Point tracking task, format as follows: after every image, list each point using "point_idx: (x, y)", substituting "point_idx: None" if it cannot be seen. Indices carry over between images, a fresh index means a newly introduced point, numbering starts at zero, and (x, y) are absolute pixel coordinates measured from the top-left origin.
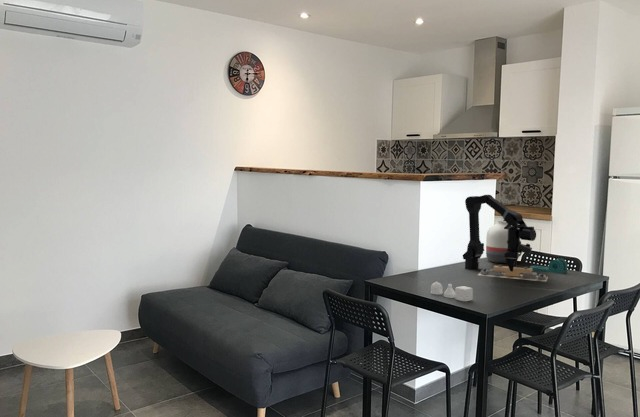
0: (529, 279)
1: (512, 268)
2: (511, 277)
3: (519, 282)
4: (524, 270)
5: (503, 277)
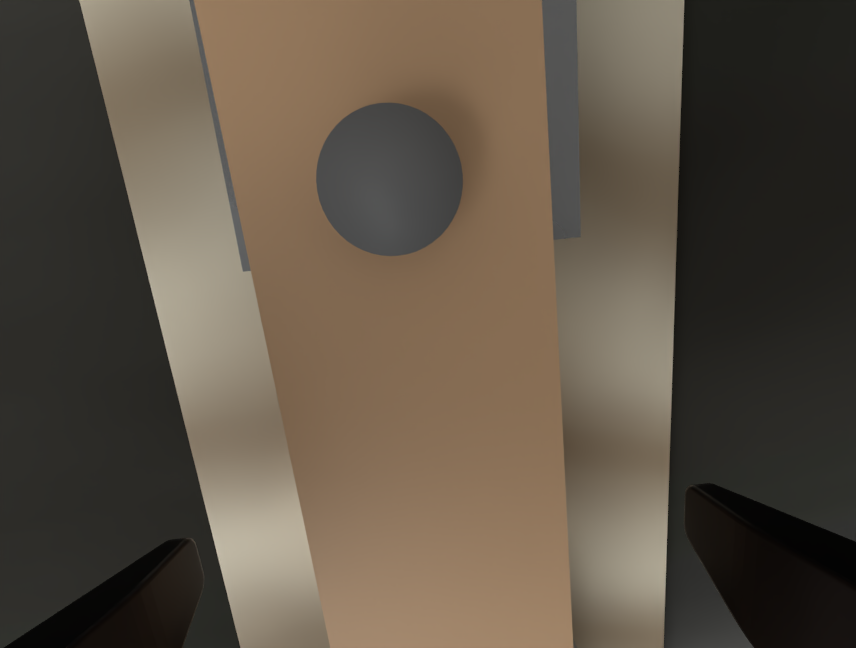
0: (630, 59)
1: (804, 543)
2: (591, 430)
3: (775, 234)
4: (539, 200)
5: (663, 540)
